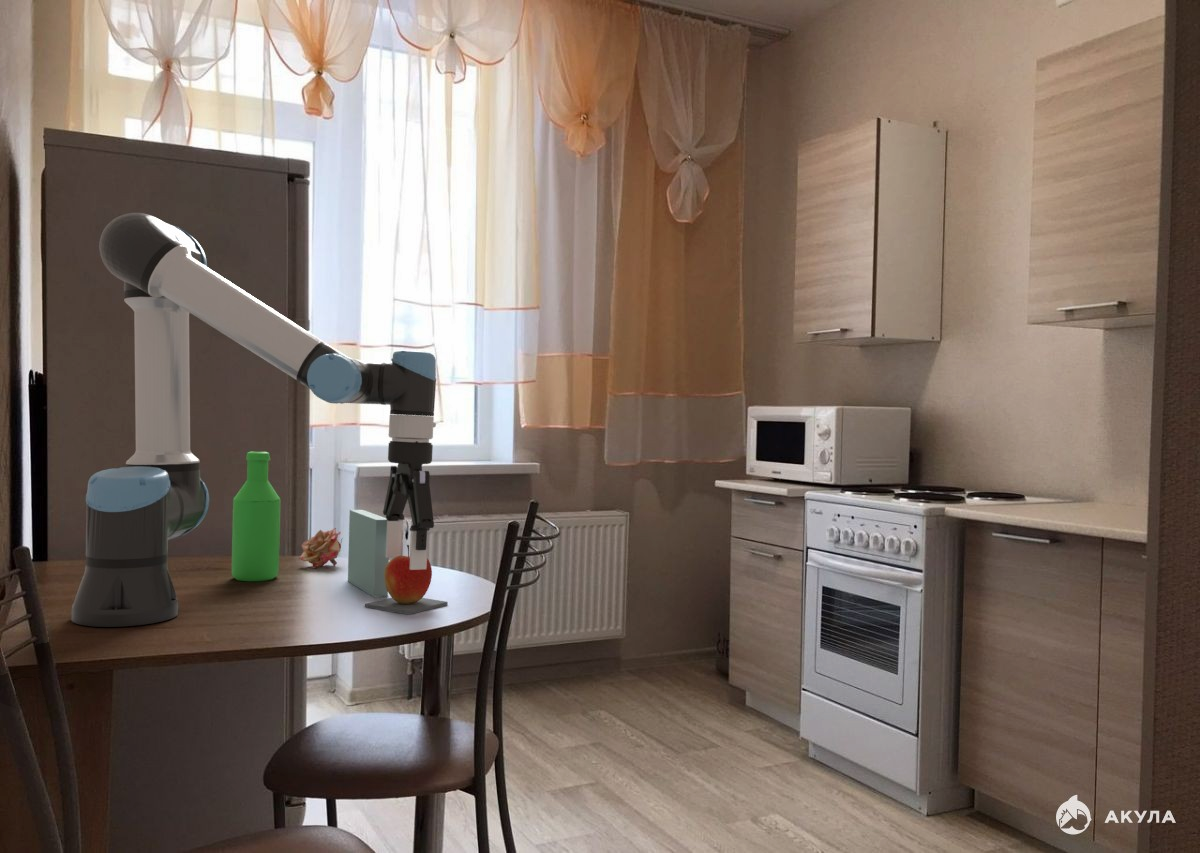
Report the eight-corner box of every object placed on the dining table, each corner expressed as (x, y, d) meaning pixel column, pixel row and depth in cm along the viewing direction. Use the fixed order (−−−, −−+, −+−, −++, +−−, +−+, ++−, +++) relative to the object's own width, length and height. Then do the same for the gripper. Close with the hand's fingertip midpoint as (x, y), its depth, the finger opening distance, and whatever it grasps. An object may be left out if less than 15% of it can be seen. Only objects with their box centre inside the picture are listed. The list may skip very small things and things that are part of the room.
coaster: (408, 614, 161) (408, 610, 161) (364, 606, 166) (364, 603, 166) (447, 605, 170) (447, 601, 170) (404, 598, 175) (404, 594, 175)
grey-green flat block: (390, 596, 177) (392, 519, 177) (374, 597, 175) (376, 519, 175) (362, 579, 192) (364, 509, 192) (347, 580, 191) (349, 509, 191)
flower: (334, 553, 215) (314, 525, 212) (361, 549, 209) (341, 520, 206) (307, 582, 208) (286, 554, 205) (334, 579, 202) (313, 550, 199)
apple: (388, 608, 163) (390, 549, 162) (380, 599, 170) (381, 542, 170) (436, 606, 166) (437, 548, 166) (425, 597, 173) (427, 541, 173)
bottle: (286, 575, 195) (289, 451, 194) (266, 583, 186) (270, 453, 186) (243, 573, 196) (246, 450, 195) (222, 581, 187) (226, 451, 187)
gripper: (457, 444, 159) (451, 573, 159) (408, 437, 180) (403, 551, 181) (413, 443, 155) (407, 575, 155) (369, 436, 177) (363, 552, 177)
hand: (405, 563), depth 168 cm, fingers open, 13 cm apart
